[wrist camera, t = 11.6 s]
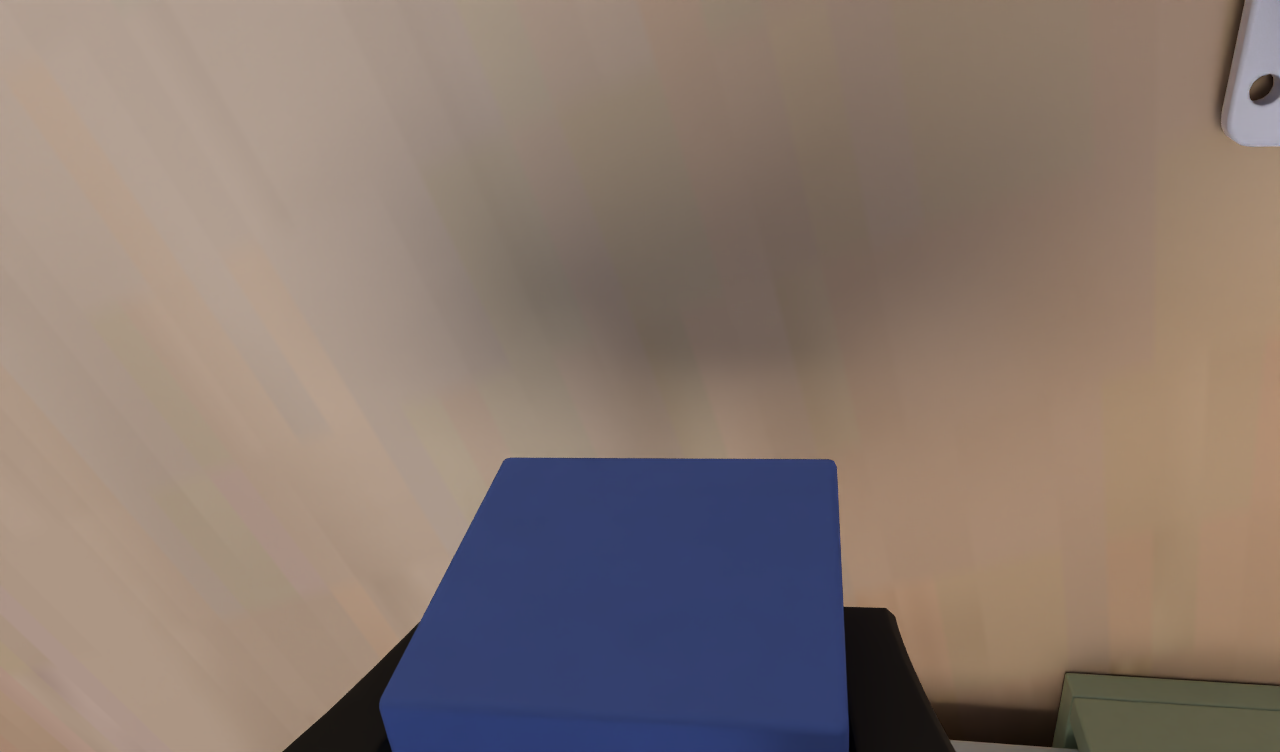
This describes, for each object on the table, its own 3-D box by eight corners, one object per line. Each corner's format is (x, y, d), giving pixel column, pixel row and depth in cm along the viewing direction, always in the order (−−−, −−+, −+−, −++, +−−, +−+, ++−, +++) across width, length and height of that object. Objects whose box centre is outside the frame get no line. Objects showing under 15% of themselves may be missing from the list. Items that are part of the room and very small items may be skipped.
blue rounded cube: (503, 454, 13) (373, 703, 9) (836, 455, 12) (850, 728, 8) (548, 694, 15) (457, 982, 11) (836, 709, 14) (846, 1025, 10)
